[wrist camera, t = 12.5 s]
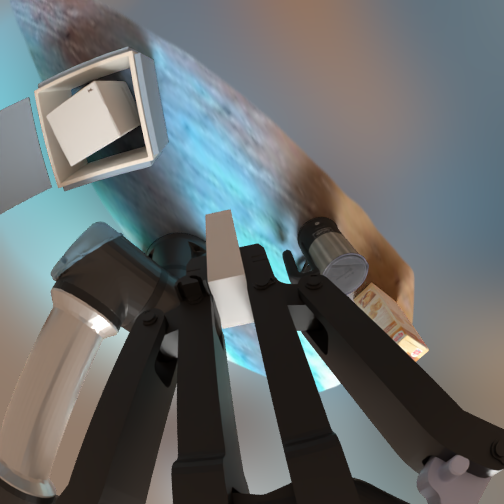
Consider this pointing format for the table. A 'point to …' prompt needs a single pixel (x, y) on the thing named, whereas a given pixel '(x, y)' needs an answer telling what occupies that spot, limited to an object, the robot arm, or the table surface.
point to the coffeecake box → (391, 320)
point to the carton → (148, 108)
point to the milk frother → (327, 256)
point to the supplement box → (94, 118)
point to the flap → (20, 157)
